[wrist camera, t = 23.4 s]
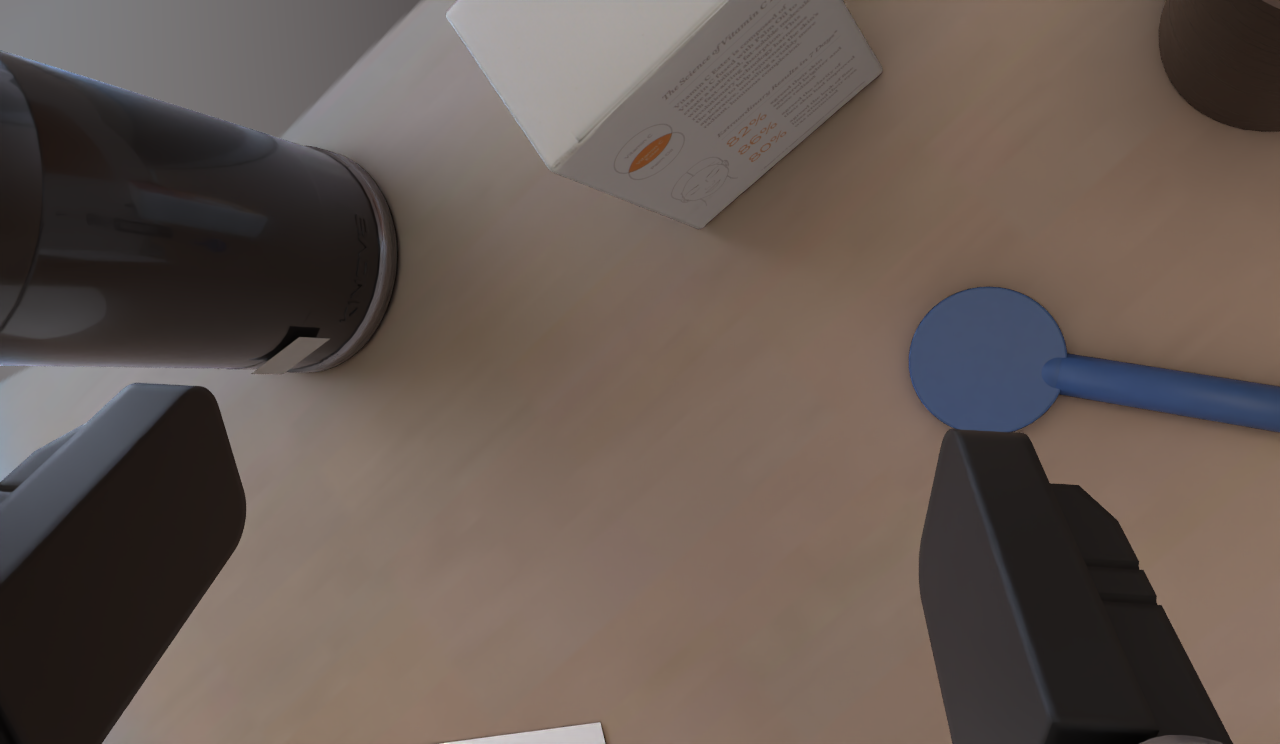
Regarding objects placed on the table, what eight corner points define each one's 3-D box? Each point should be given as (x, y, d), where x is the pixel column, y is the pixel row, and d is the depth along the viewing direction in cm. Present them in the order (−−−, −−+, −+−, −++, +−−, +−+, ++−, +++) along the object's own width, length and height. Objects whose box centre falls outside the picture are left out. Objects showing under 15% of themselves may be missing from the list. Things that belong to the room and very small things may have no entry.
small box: (787, -47, 30) (666, -243, 21) (889, 74, 29) (809, -76, 19) (613, 117, 33) (434, 10, 23) (698, 236, 32) (545, 173, 22)
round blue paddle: (901, 417, 29) (895, 419, 28) (927, 280, 29) (921, 276, 27) (1449, 525, 23) (1468, 532, 22) (1488, 355, 23) (1510, 354, 22)
